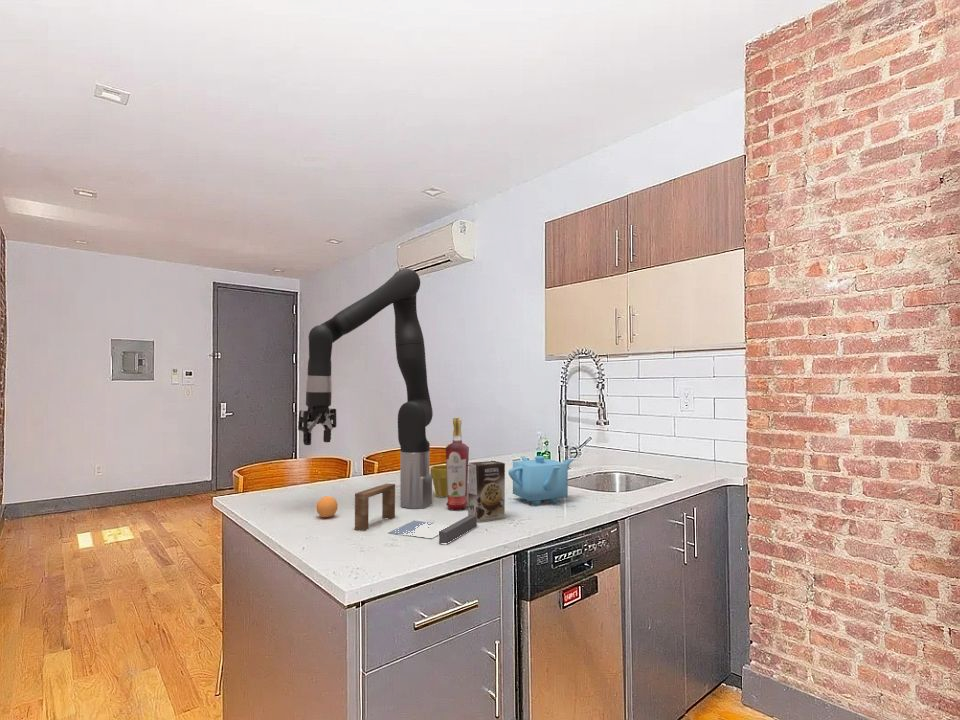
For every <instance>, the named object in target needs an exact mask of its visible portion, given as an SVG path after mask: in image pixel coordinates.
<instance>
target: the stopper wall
mask: <svg viewBox="0 0 960 720" xmlns="http://www.w3.org/2000/svg"><path fill="white" fill-rule="evenodd" d="M477 523H478V522H477V515H469V516H468V515H467V516H465V517H463V518H461V519H460V520H458V521H456V522H454V523H453V524H449V525H450V526H449V527H447V528H445V529H443V530H441V531H439V536H438V544H439V543H448V542H450V541H452V540H453V539H455V538H457V537H459V536H460V535H462V534H464V533H465V534H467V533H468V532H470V531H471V529H472V528H473V529H475V528H477V527H478V524H477ZM476 526H477V527H476ZM474 527H475V528H474ZM473 529H472V530H473ZM469 530H470V531H469ZM467 531H468V532H467ZM466 532H467V533H466ZM465 534H464V535H465ZM462 536H463V535H462ZM460 537H461V536H460ZM460 537H459V538H460ZM457 539H458V538H457ZM455 540H456V539H455ZM452 542H453V541H452ZM450 543H451V542H450Z"/></svg>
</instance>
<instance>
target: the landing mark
mask: <svg viewBox="0 0 960 720" xmlns="http://www.w3.org/2000/svg"><path fill="white" fill-rule="evenodd" d="M426 522H427V521H420V520H412V521H410V522H408V523H405V524H404V525H401V526H399V527H397V528H395V529H392V530H390V531H389V532H387V533H388V534H390V533H395V532H396V533H395V534H394V535H397V534H404V533H406V532H407V533H406V534H408V533H410V532H411V531H413V530H414V531H415V529H416V528H415V527H416V526H418V527H419V526H420V525H423V524H425V523H426ZM422 523H423V524H422ZM428 523H431V524H433V523H434V522H427V524H428ZM419 524H420V525H419ZM431 524H428V525H431ZM418 527H417V528H418ZM398 528H399V529H398ZM428 528H429V527H428ZM395 530H396V531H395ZM398 530H399V531H398ZM406 530H407V531H406ZM408 531H410V532H408ZM398 532H399V533H398ZM403 532H404V533H403ZM411 533H413V532H411ZM414 533H415V532H414ZM412 535H413V534H412ZM409 537H411V535H410V536H409Z"/></svg>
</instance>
